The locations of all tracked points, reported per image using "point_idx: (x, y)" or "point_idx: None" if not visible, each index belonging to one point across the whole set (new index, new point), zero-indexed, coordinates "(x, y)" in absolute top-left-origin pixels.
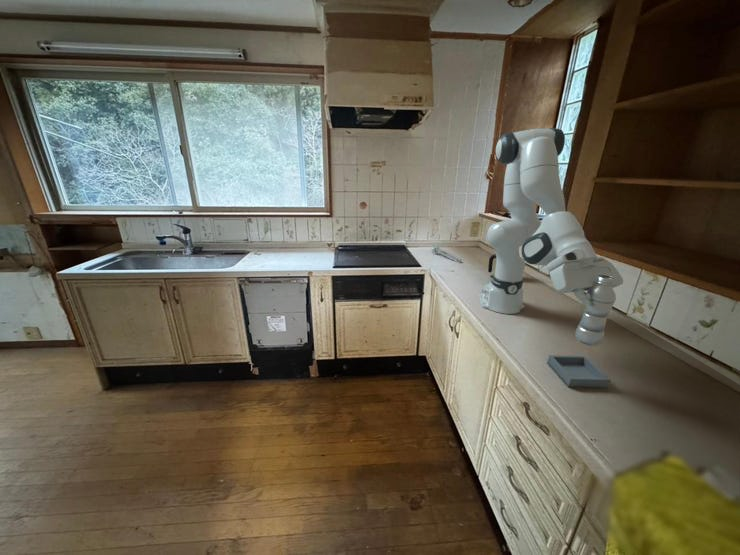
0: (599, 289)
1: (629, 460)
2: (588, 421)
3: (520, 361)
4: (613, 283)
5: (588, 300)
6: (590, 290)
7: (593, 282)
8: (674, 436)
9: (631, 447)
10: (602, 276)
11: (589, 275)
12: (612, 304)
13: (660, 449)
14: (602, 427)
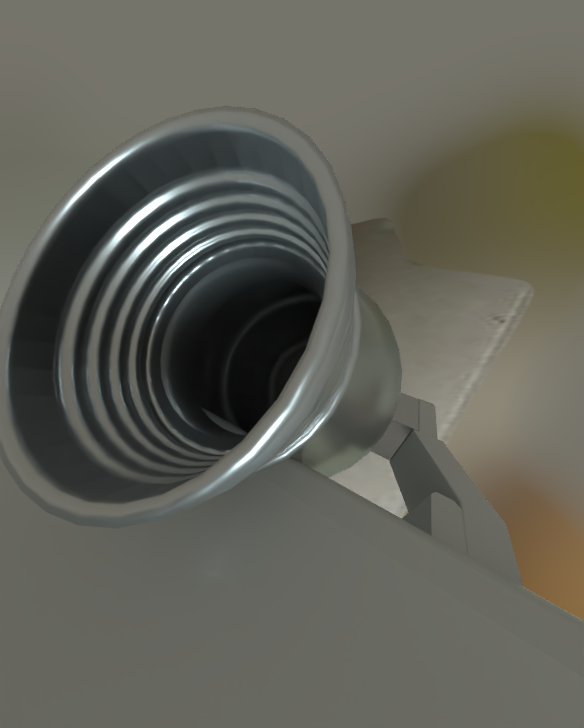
0: (368, 363)
1: (489, 277)
2: (458, 340)
3: (392, 508)
4: (216, 230)
5: (427, 420)
6: (352, 455)
7: (241, 489)
8: (368, 265)
9: (454, 285)
10: (59, 411)
11: (92, 720)
12: (321, 302)
13: (417, 265)
14: (450, 322)
